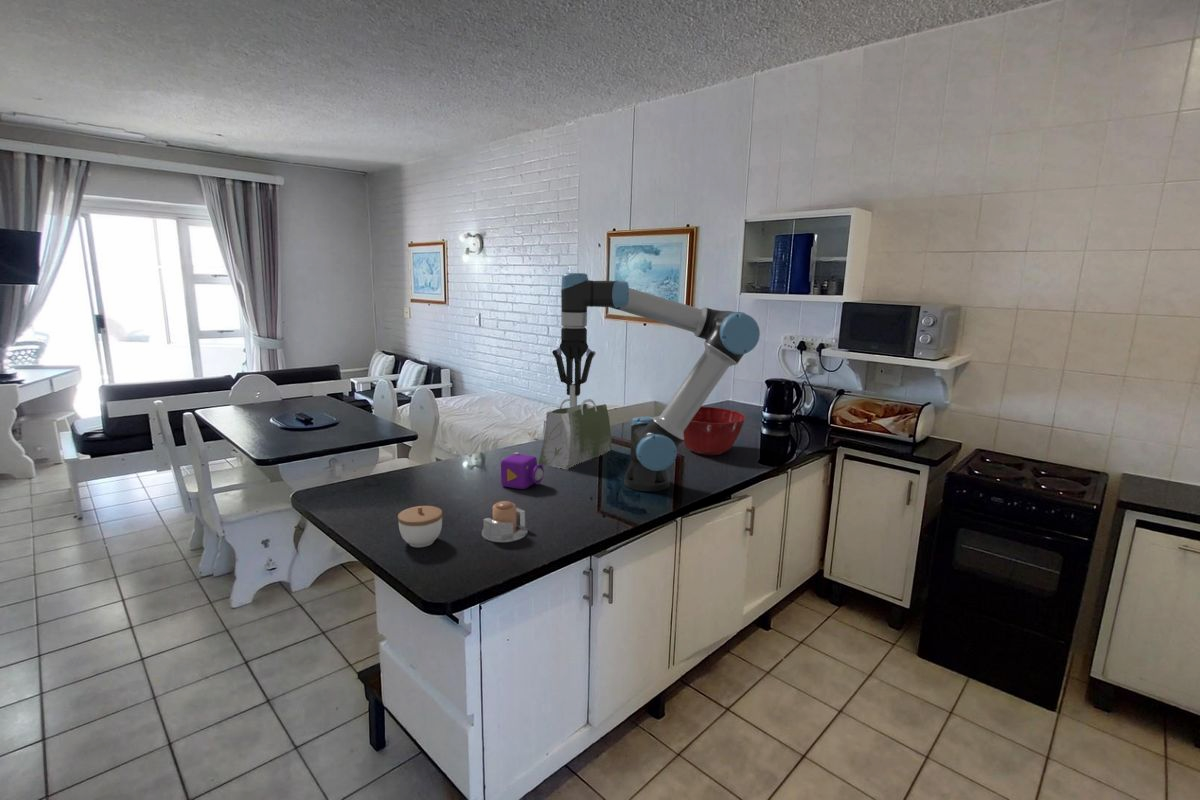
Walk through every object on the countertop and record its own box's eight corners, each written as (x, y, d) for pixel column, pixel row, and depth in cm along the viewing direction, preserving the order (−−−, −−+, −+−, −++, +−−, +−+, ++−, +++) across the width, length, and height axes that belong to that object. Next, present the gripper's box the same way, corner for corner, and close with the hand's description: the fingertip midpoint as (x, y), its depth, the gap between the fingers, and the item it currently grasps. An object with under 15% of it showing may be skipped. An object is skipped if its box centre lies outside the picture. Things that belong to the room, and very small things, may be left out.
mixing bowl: (750, 461, 217) (753, 422, 214) (676, 460, 217) (678, 421, 214) (734, 442, 244) (736, 407, 241) (668, 440, 245) (670, 406, 242)
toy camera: (538, 492, 180) (538, 462, 178) (498, 489, 182) (497, 459, 180) (548, 481, 190) (548, 453, 188) (509, 478, 193) (509, 450, 191)
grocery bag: (584, 445, 236) (585, 390, 231) (613, 450, 229) (614, 394, 224) (537, 464, 209) (537, 402, 205) (568, 470, 202) (568, 407, 198)
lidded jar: (405, 533, 148) (403, 499, 147) (446, 532, 149) (445, 499, 147) (394, 552, 138) (392, 516, 136) (438, 551, 139) (437, 515, 137)
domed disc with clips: (534, 526, 154) (533, 509, 153) (517, 545, 143) (517, 526, 142) (493, 521, 157) (493, 504, 156) (473, 539, 146) (473, 521, 145)
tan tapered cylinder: (519, 528, 152) (519, 501, 150) (510, 537, 146) (510, 509, 145) (498, 525, 153) (498, 498, 152) (489, 534, 147) (488, 507, 146)
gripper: (598, 327, 167) (597, 405, 171) (556, 325, 170) (556, 402, 174) (592, 328, 160) (591, 410, 164) (548, 327, 163) (548, 407, 167)
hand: (573, 406), depth 169 cm, fingers closed
